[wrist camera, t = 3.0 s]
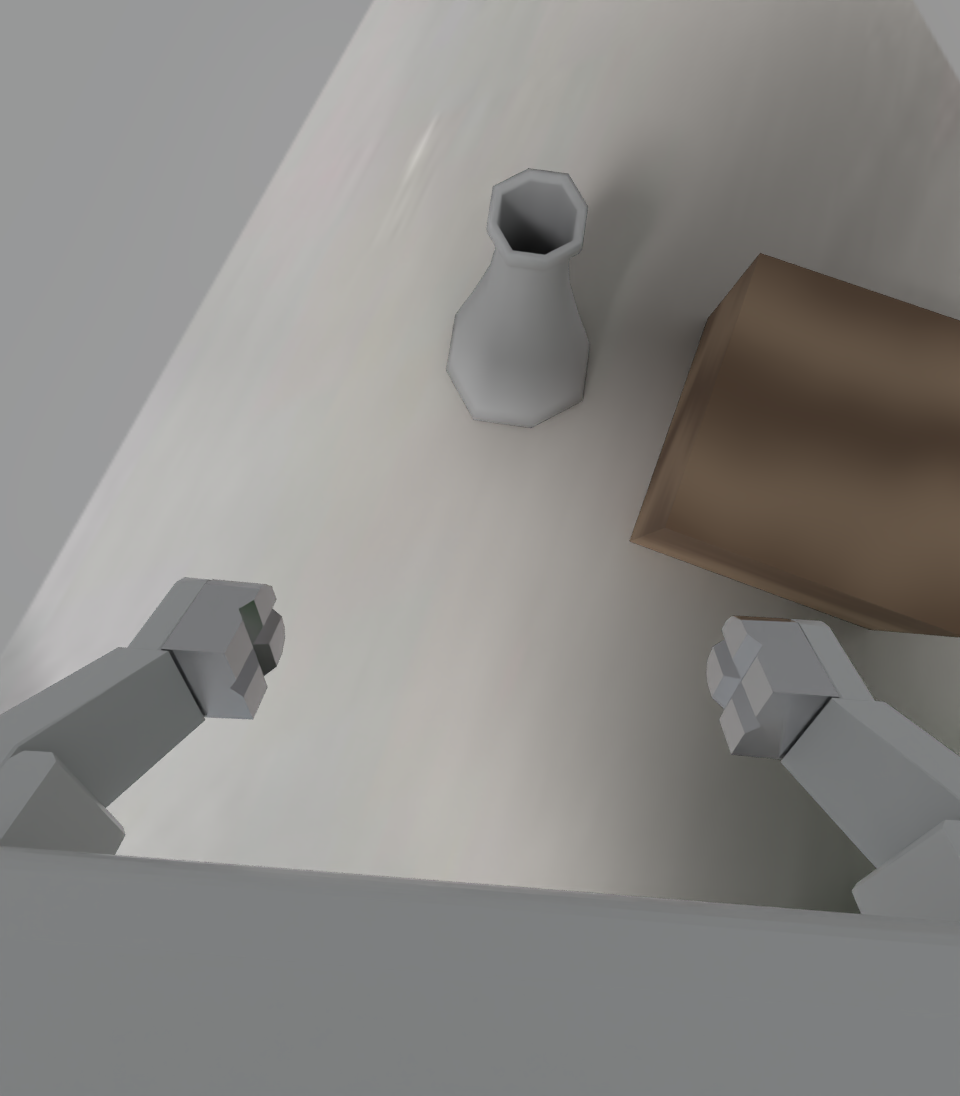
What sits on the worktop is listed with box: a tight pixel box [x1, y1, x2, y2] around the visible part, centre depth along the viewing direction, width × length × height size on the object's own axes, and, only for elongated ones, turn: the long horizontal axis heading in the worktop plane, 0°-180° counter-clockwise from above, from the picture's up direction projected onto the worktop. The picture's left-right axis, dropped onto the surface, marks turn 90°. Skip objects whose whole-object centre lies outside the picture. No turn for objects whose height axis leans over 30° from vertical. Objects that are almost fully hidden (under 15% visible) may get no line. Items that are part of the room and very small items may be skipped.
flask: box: [446, 168, 590, 428], centre depth 21 cm, size 7×7×10 cm
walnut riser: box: [630, 253, 960, 637], centre depth 23 cm, size 12×12×5 cm
